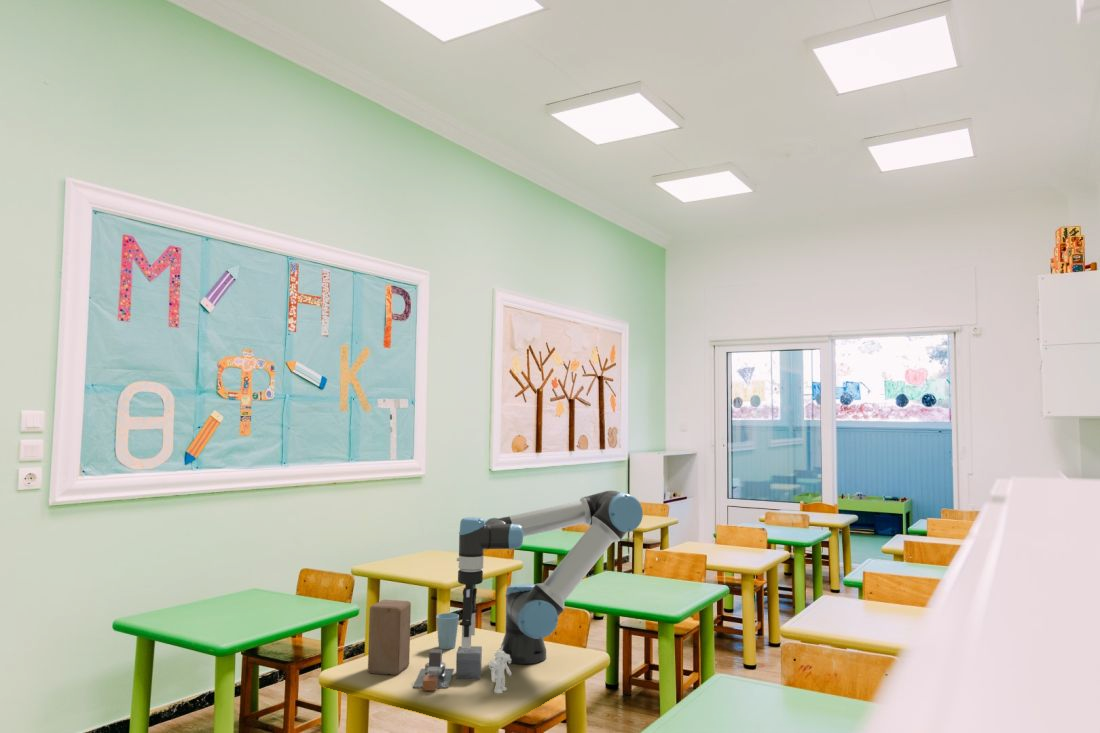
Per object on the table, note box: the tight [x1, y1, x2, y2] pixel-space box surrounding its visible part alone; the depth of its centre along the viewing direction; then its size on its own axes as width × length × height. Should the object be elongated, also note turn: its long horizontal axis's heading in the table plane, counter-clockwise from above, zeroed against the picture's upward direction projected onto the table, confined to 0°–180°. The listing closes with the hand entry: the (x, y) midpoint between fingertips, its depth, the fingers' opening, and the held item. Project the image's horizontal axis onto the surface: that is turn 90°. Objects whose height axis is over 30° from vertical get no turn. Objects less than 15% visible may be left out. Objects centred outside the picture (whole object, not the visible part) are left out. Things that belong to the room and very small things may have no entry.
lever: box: [412, 648, 455, 691], centre depth 217 cm, size 10×19×7 cm, turn 1°
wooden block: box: [367, 599, 412, 676], centre depth 227 cm, size 10×10×20 cm
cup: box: [435, 612, 460, 650], centre depth 251 cm, size 8×8×10 cm
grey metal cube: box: [455, 645, 483, 680], centre depth 222 cm, size 7×7×8 cm
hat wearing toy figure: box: [488, 646, 512, 694], centre depth 209 cm, size 9×4×12 cm, turn 148°
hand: (468, 641), depth 222 cm, fingers open, 13 cm apart
